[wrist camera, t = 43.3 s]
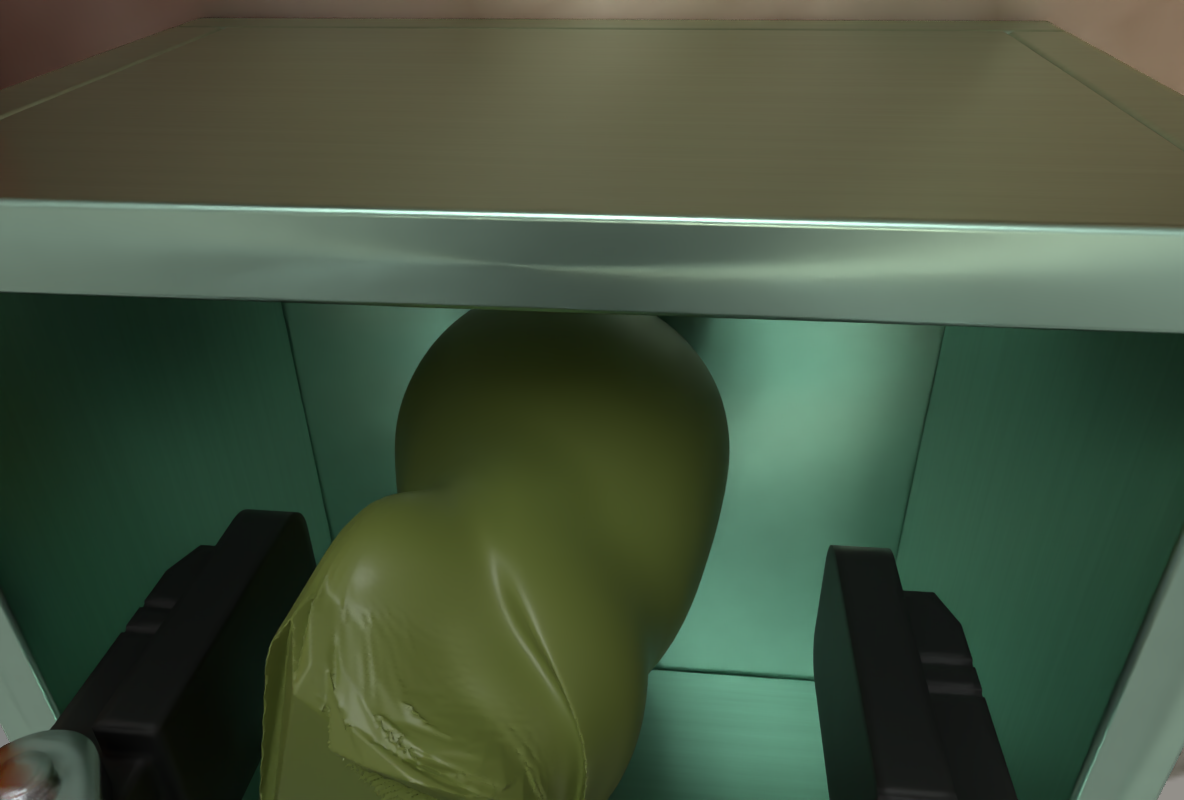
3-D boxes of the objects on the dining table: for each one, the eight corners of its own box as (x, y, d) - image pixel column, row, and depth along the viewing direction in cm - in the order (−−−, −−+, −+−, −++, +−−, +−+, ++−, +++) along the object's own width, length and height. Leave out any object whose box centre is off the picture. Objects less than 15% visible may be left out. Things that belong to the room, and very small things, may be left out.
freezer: (196, 16, 15) (-288, 192, 8) (1051, 19, 14) (1447, 233, 7) (337, 642, 23) (160, 1029, 16) (896, 681, 22) (995, 1128, 14)
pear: (682, 538, 18) (562, 1106, 10) (434, 448, 19) (107, 926, 10) (787, 296, 15) (747, 802, 7) (491, 192, 16) (100, 558, 7)
